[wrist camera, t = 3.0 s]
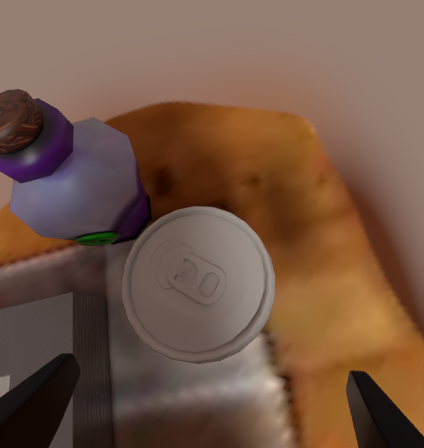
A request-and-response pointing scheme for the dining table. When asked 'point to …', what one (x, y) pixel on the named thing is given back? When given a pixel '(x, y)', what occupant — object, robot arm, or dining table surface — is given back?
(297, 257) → the dining table surface
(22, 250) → the dining table surface
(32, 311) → the block
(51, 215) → the potion bottle
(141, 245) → the beverage can
